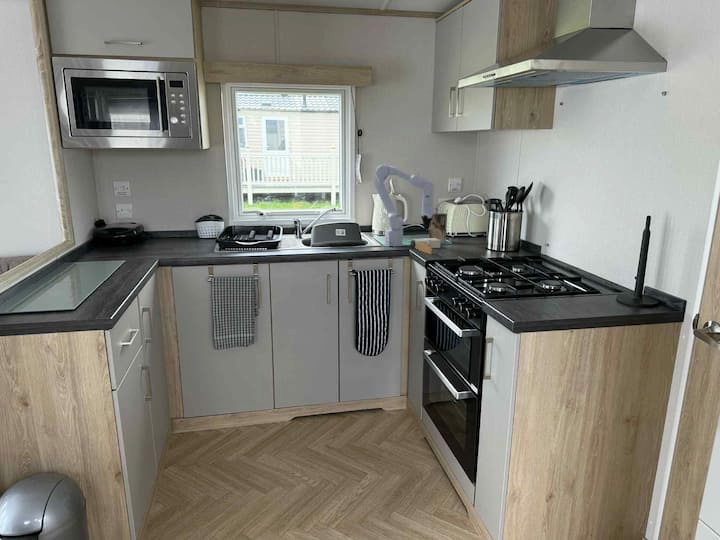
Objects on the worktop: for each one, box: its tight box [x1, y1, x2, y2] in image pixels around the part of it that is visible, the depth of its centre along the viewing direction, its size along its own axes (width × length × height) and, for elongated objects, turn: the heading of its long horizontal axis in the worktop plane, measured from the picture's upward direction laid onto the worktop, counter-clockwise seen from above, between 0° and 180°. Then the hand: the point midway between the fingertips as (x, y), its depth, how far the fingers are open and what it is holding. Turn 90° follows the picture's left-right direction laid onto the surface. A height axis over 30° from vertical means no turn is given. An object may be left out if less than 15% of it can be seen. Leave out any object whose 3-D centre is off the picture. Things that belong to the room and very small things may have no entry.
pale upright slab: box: [410, 237, 442, 250], centre depth 275 cm, size 15×7×4 cm, turn 109°
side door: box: [416, 240, 433, 255], centre depth 262 cm, size 14×2×7 cm, turn 23°
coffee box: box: [428, 212, 448, 244], centre depth 289 cm, size 9×6×16 cm
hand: (426, 229), depth 274 cm, fingers closed
